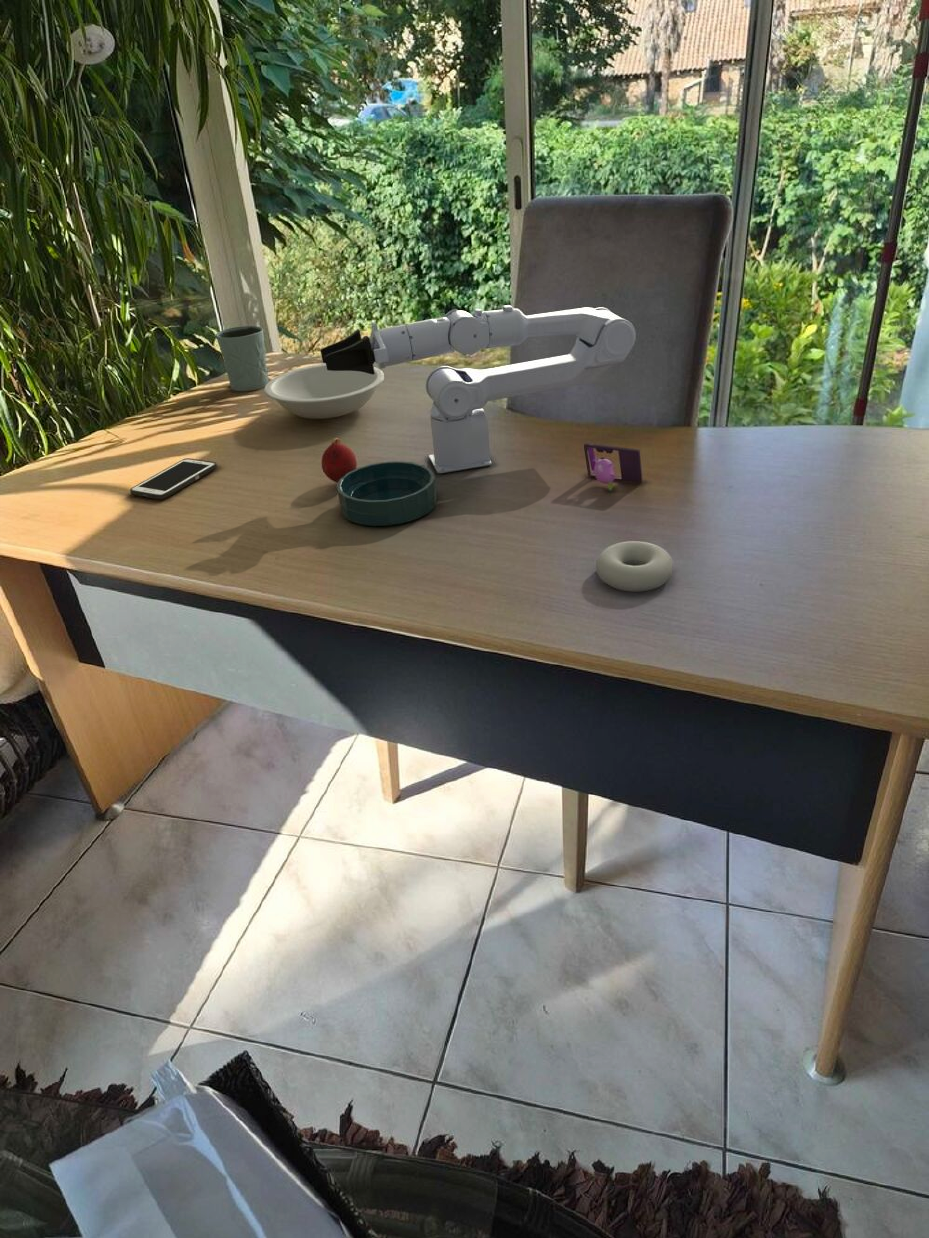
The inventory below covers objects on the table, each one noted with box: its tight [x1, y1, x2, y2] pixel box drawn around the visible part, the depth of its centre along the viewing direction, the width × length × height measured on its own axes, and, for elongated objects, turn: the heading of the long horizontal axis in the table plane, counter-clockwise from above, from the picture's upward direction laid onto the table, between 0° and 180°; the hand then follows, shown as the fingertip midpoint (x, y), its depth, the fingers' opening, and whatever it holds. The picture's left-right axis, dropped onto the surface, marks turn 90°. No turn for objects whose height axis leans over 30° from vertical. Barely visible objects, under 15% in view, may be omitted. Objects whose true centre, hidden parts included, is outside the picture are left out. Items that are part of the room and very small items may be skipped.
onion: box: [321, 437, 358, 484], centre depth 145 cm, size 6×6×8 cm
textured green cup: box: [215, 325, 270, 392], centre depth 194 cm, size 10×10×12 cm
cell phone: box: [129, 457, 218, 500], centre depth 153 cm, size 8×15×1 cm, turn 153°
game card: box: [583, 442, 643, 491], centre depth 137 cm, size 7×5×9 cm
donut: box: [595, 540, 674, 593], centre depth 114 cm, size 10×4×10 cm
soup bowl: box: [263, 363, 385, 420], centre depth 176 cm, size 24×24×7 cm
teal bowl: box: [336, 460, 438, 527], centre depth 137 cm, size 15×15×4 cm
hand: (323, 359), depth 137 cm, fingers open, 7 cm apart
